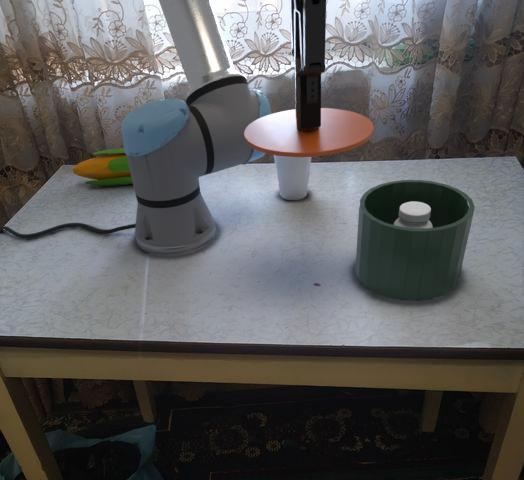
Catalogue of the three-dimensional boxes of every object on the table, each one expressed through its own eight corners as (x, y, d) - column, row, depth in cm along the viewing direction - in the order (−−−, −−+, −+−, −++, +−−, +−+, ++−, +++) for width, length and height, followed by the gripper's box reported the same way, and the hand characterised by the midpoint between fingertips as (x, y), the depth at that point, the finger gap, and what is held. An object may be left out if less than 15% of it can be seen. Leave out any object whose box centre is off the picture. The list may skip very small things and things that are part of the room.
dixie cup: (279, 205, 108) (277, 157, 101) (270, 188, 114) (267, 142, 108) (318, 199, 109) (318, 151, 102) (307, 183, 115) (307, 136, 108)
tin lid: (250, 168, 67) (243, 81, 60) (239, 123, 80) (232, 48, 74) (389, 153, 67) (397, 65, 61) (355, 110, 81) (359, 35, 74)
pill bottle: (426, 282, 84) (437, 218, 76) (387, 280, 85) (394, 216, 77) (425, 262, 88) (435, 199, 81) (388, 260, 89) (395, 198, 82)
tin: (370, 309, 80) (377, 237, 72) (344, 253, 93) (347, 186, 84) (476, 296, 81) (494, 223, 73) (436, 242, 93) (448, 174, 85)
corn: (153, 151, 114) (61, 158, 114) (159, 185, 119) (71, 192, 119) (157, 141, 120) (70, 148, 120) (163, 174, 125) (79, 180, 125)
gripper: (357, -105, 51) (348, 139, 67) (324, -104, 63) (323, 102, 79) (281, -98, 51) (289, 145, 66) (263, -99, 63) (273, 107, 79)
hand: (308, 121), depth 72 cm, fingers closed on tin lid, 3 cm apart
